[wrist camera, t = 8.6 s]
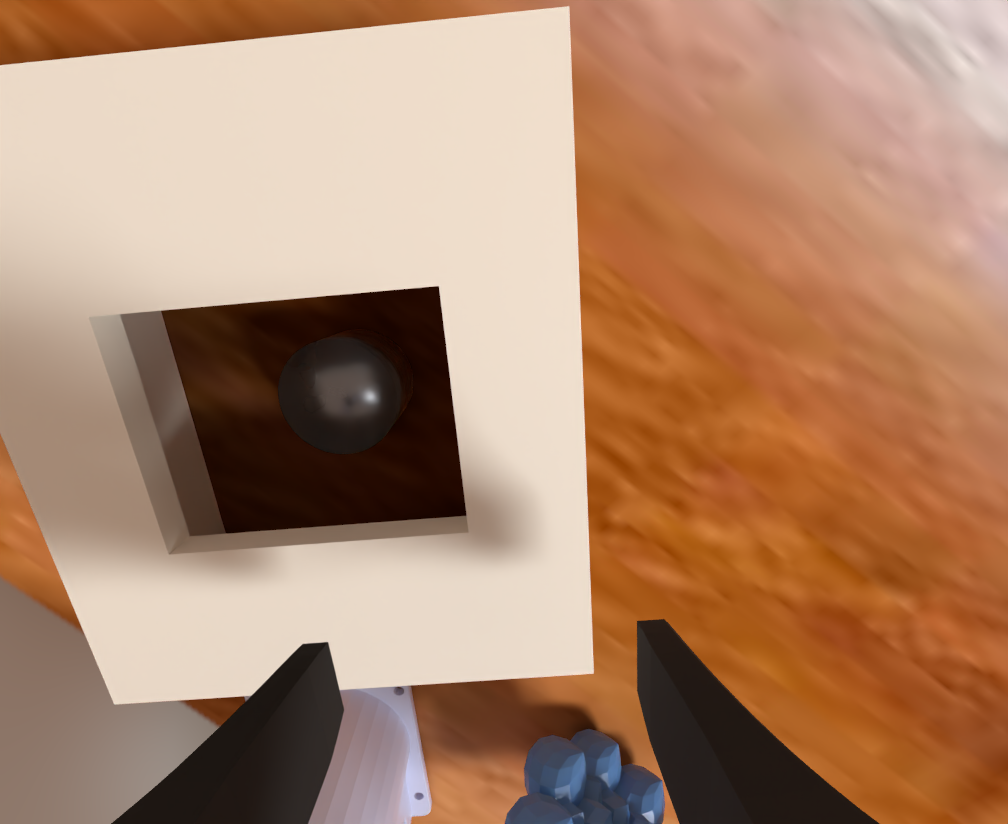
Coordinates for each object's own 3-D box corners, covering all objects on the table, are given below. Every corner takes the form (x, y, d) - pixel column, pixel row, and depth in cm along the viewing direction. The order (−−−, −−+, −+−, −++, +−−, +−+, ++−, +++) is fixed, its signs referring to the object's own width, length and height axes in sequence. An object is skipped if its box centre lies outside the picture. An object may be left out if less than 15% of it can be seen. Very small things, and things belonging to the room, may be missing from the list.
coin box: (569, 562, 21) (593, 673, 15) (219, 588, 21) (114, 704, 16) (545, 103, 16) (569, 6, 10) (84, 148, 16) (-148, 80, 10)
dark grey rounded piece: (419, 423, 19) (404, 450, 16) (323, 430, 19) (291, 457, 16) (406, 325, 18) (388, 335, 15) (304, 332, 18) (266, 344, 15)
